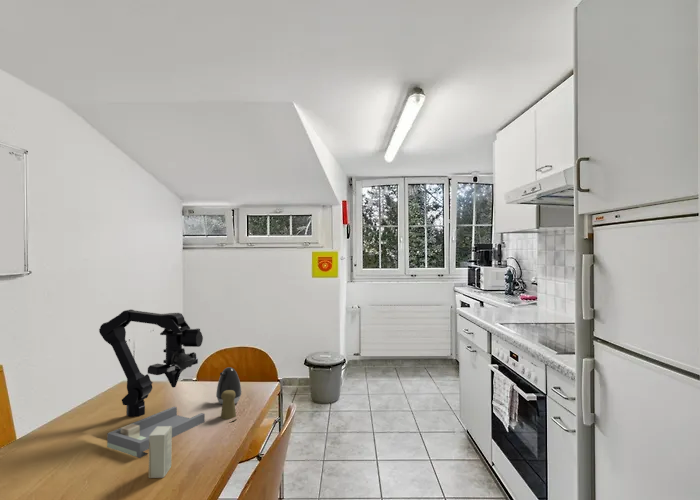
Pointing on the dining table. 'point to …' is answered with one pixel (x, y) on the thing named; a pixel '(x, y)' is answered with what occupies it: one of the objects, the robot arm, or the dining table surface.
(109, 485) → the dining table surface
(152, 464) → the skincare box
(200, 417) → the box
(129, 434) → the birch block
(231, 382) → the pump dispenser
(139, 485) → the dining table surface
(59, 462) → the dining table surface
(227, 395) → the cork
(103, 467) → the dining table surface
